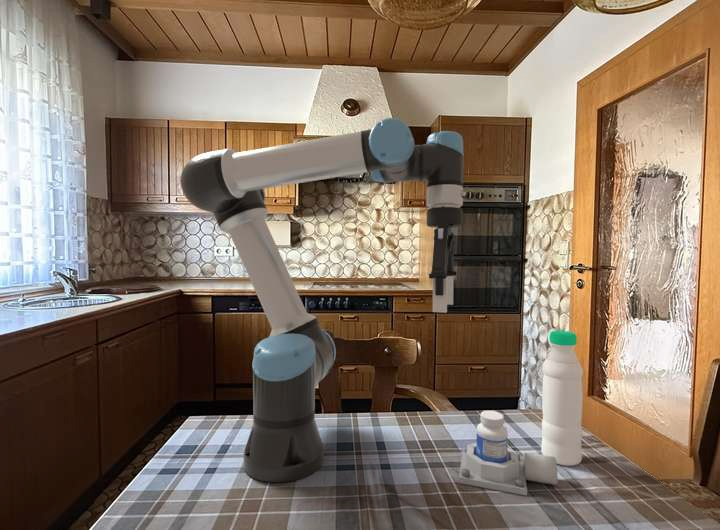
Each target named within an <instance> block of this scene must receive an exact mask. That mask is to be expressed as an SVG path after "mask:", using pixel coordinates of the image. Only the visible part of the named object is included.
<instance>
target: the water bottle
mask: <svg viewBox="0 0 720 530" xmlns="http://www.w3.org/2000/svg"><path fill="white" fill-rule="evenodd" d="M577 342H578V339H577V335H576V333H575V332H573V331H568V330H552V331H550V332H549V344H550V345H551V350H550V351H549V353H548V354H547V357H546V358H545V360H544V362H543V364H542V372H543V377H542V378H543V379H542V389H541V390H542V393H541V394H542V399H541V400H542V401H541V404H542V405H541V407H542V408H541V410H542V421H541V433H542V438H541V449H540V450H541V455H545V456H551V457H555V458H556V463H557V465H560V466H564V467H565V466H566V467H572V466H573V467H574V466H577V465H579V464H580V463H581V462H582V459H583V452H582V450H583V448H582V438H583V429H582V418H583V401H584V400H583V395H584V394H583V381H582V379H583V376H584V371H583V370H584V369H583V366H582V365H581V363H580V361H579V359H578V355H577V354H576V353H575V348H576V347H577V346H576V345H577V344H578V343H577Z"/></svg>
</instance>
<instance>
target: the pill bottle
mask: <svg viewBox="0 0 720 530" xmlns="http://www.w3.org/2000/svg"><path fill="white" fill-rule="evenodd" d="M504 422H505V417H504V414H503V413H501V412H499V411H495V410H484V411H482V412H480V423H478V425H477V426H476V443H477V452H476V456H477V457H479V458H480V459H482V460H483V461H487V462H493V463H499V464H501V463H504V462H507V447H508V444H509V443H508V442H509V441H508V436H509V435H508V433H509V432H508V430H507V427H505V423H504Z"/></svg>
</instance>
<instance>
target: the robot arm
mask: <svg viewBox="0 0 720 530" xmlns="http://www.w3.org/2000/svg"><path fill="white" fill-rule="evenodd" d="M464 158H465V154H464V139H463V136H462V134H460V133H458V132H456V131H452V130H451V131H450V130H442V131H439V132H433V133H431V134H430V135H429V136H428V137H427V140H426V144H425V143H423V144H415V139H414V137H413V133H412V132H411V130H410V127H409V126H408V125H407V124H406V123H405V122H404V121H403V120H401V119H399V118H395V117H387V118H383V119H381V120H380V121H378V122H376V124H374V126H373V127H372V128H371V129H365V130H360V131H354V132H349V133H343V134H338V135H332V136H326V137H321V138H313V139H308V140H304V141H303V140H302V141H297V142H293V143H292V142H291V143H285V144H281V145H274V146H267V147H263V148H258V149H257V148H255V149H252V150H247V151H246V150H244V151H241V152H240V151H239V152H237V151H236V150H234V149H233V148H225V149H219V150H212V151H208V152H204V153H200V154H198V155H196V156H194V157H192V158H191V159H190V160H188V161H187V163H186V164H185V165H184V167H183V169H182V171H181V175H180V187H181V190H182V193H183V195H184V197H185V199H186V200H187V201H188V202H189V203H190V204H191V205H193V206H195V207H196V208H197V209H199V210H202V211H206V212H209V213H212V214H213V216H214V218H215V221H216V223H217V226H218V228H219V229H220V231H221V232H224V233H227V234H229V235H230V238H231V239H232V242H233V244H234V246H235V250H236V252H237V253H238V255H239V258H240V260H241V263H242V265H243V266H244V269H245V271H246V273H247V276H248V278H249V281H250V282H251V285H252V287H253V290H254V291H255V294H256V295H257V298H258V300H259V302H260V305H261V307H262V309H263V312H264V313H265V316H266V318H267V321H268V323H269V325H270V327H271V331H270V334H269V336H268V337H266V338H264V339H261V341H259V342H258V343H257V344H256V345H255V347H254V349H253V350H254V351H253V360H252V362H251V363H252V365H251V366H252V392H253V393H252V396H253V399H252V401H253V403H252V405H253V407H252V408H253V409H252V411H253V413H252V414H253V418H252V419H253V420H252V421H253V422H252V426H251V429H250V432H249V435H248V439H247V442H246V444H245V447H244V451H243V469H244V471H245V473H246V474H247V475H249V476H250V477H251V478H253V479H255V480H257V481H262V482H266V483H267V482H268V483H286V482H287V483H288V482H292V481H293V482H294V481H296V480H299V479H303V478H306V477H307V476H310V475H312V474H313V473H315V472H316V471H317V470H318V469H319V468H320V467H321V466H322V464H323V462H324V459H325V458H324V457H325V456H324V450H325V449H324V443H323V441H322V437H321V435H320V431H319V428H318V425H317V422H316V416H315V414H316V413H315V412H316V411H315V409H316V408H315V407H316V403H315V399H316V396H315V395H316V386H318V384H320V382H321V381H322V380H323V379H324V378H325V377H327V375H328V374H329V373H330V372H331V369H332V368H333V365H334V362H335V360H336V354H337V353H336V352H337V350H336V345H335V341H334V340H333V338H332V336H331V335H330V334H329V333H328V332H327V331H326V330H324V329H322V326H321V325H320V322H319V321H318V319H317V316H315V315H313V314H310V313H309V312H307V310H306V308H305V306H304V304H303V300H302V299H301V297H300V294H299V292H298V290H297V288H296V286H295V284H294V282H293V279H292V277H291V275H290V273H289V270H288V268H287V265H286V264H285V262H284V259H283V257H282V255H281V253H280V250H279V248H278V246H277V244H276V241H275V239H274V238H273V235H272V232H271V230H270V229H269V226H268V224H267V221H266V218H267V216H268V213H269V210H268V209H267V206H266V204H265V201H266V192H265V190H266V189H270V188H272V189H273V188H277V187H283V186H290V185H296V184H302V183H308V182H314V181H320V180H327V179H332V178H333V179H334V178H339V177H345V176H353V175H357V174H358V175H359V174H364V173H370V174H371V175H370V176H371V179H372V180H373V181H374V182H377V183H378V182H379V183H380V182H381V183H387V184H388V183H394V182H395V183H397V182H420V181H421V182H424V181H425V182H426V204H425V205H426V207H427V208H428V209H426V226H427V227H428V228H433V229H434V230H433V233H434V234H433V251H432V260H431V264H432V265H431V271H430V273H428V278H429V279H432V313H445V314H446V313H447V312H448V306H449V305H451V306H453V305H454V277H455V276H457V271H456V270H455V264H454V260H455V259H454V251H455V240H456V238H455V235H454V232H452V228H459V227H462V226H463V224H464V223H463V222H464V216H463V215H464V210H463V209H462V208H461V207H462V206H463V203H464V197H465V196H466V195H467V191H464V188H463V187H464V161H465V159H464Z"/></svg>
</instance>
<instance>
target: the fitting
mask: <svg viewBox="0 0 720 530" xmlns="http://www.w3.org/2000/svg"><path fill="white" fill-rule="evenodd" d="M476 452H477V442H473V443H469V444H467V445H465V446H464V447H463V448H462V452H461V457H460V459H461V460H460V465H459V467H460V468H459V474H458V484H462V485H467V486H474V487H477V488H483V489H488V490H494V491H500V492H504V493H509V494H516V495H520V496H526V497H527V496H528V487H527V481H529V482H535V483H536V482H537V483H542V484H547V485H551V486H552V485H554V486H557V485H558V464H557V463H556V458H555V457H551V456H545V455H543V454H538V453H533V452H532V453H530V452H523V457H521V454H519V453H518V452H517V451H515V450H514V449H512V448H510V447H508V446H507V462H504V463H501V464H499V463H493V462H487V461H483V460H482V459H480V458H479V457H477V456H476Z"/></svg>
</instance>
